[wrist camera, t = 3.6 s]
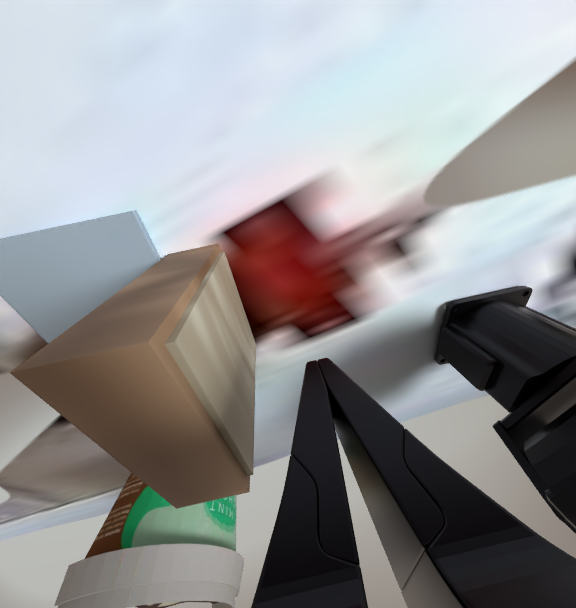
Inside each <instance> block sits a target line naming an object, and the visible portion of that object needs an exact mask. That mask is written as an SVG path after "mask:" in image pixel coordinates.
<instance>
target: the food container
mask: <svg viewBox="0 0 576 608" xmlns="http://www.w3.org/2000/svg"><path fill="white" fill-rule="evenodd" d="M243 566H244V558H243V557H242V556H241V555H240V554H239V553H237V552H236V495H234V496H230V497H225V498H221V499H217V500H212V501H208V502H204V503H199V504H195V505H191V506H186V507H182V508H178V509H176V508H175V507H174V506H172V505H171V504H170V503H169V502H167V501H166V500H165V499H164V498H163V497H161V496H160V495H159V494H158V493H156V492H155V491H154V490H153V489H152V488H150V487H149V486H148V485H147V484H145V483H144V482H143V481H142V480H141V479H139V478H138V477H137V476H136V475H134V474H133V473H131V475H130V476H129V478H128V480H127V482H126V484H125V486H124V487H123V489H122V491H121V493H120V495H119V497H118V498H117V500H116V502H115V504H114V506H113V508H112V509H111V511H110V513H109V515H108V517H107V519H106V521H105V522H104V524H103V526H102V528H101V530H100V532H99V533H98V535H97V537H96V539H95V541H94V543H93V545H92V546H91V548H90V550H89V552H88V554H87V555H86V557H85V559H84V560H81V561H78V562H76V563H74V564H71V565H69V567H68V570H67V572H66V575H65V578H64V581H63V583H62V586H61V589H60V592H59V594H58V597H57V600H56V603H55V606H56V605H59V606H58V608H126V607H133V606H135V607H138V608H165V607H169V606H172V605H176V604H179V603H184V602H211V603H212V608H234V604H235V597H237V596H238V593H239V589H240V583H241V577H242V571H243Z"/></svg>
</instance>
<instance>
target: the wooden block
mask: <svg viewBox="0 0 576 608" xmlns="http://www.w3.org/2000/svg"><path fill="white" fill-rule="evenodd" d="M255 362H256V343H255V340H254V338H253V335H252V332H251V329H250V326H249V323H248V320H247V317H246V314H245V311H244V308H243V305H242V302H241V299H240V296H239V293H238V290H237V287H236V285H235V282H234V279H233V276H232V273H231V270H230V267H229V264H228V261H227V258H226V255H225V252H224V251H222V252H221V249H220V246H219V244H214V245H209V246H205V247H200V248H195V249H191V250H186V251H181V252H177V253H172V254H168V255H167V256H165V257H164V258H163V259H161V260H160V261H159V262H157V263H156V264H155V265H153V266H152V267H151V268H149V269H148V270H146V271H145V272H144V273H142V274H141V275H140V276H138V277H137V278H136V279H134V280H133V281H132V282H130V283H129V284H128V285H126V286H125V287H124V288H122V289H121V290H120V291H118V292H117V293H116V294H114V295H113V296H112V297H110V298H109V299H108V300H106V301H105V302H104V303H102V304H101V305H100V306H98V307H97V308H96V309H94V310H93V311H92V312H90V313H89V314H88V315H86V316H85V317H84V318H82V319H81V320H79V321H78V322H77V323H75V324H74V325H73V326H71V327H70V328H69V329H67V330H66V331H65V332H63V333H62V334H61V335H59V336H58V337H57V338H55V339H54V340H53V341H51V342H50V343H49V344H47V345H46V346H45V347H43V348H42V349H41V350H39V351H38V352H37V353H35V354H34V355H33V356H31V357H30V358H29V359H27V360H26V361H25V362H23V363H22V364H21V365H19V366H18V367H17V368H15V369H14V370H12V371H11V372H10V373H11V374H12V375H13V376H14V377H16V378H17V379H18V380H20V381H21V382H22V383H23V384H24V385H25V386H27V387H28V388H29V389H30V390H32V391H33V392H34V393H35V394H36V395H38V396H39V397H40V398H41V399H43V400H44V401H45V402H46V403H47V404H49V405H50V406H51V407H52V408H54V409H55V410H56V411H57V412H58V413H60V414H61V415H62V416H63V417H65V418H66V419H67V420H68V421H69V422H71V423H72V424H73V425H74V426H76V427H77V428H78V429H79V430H81V431H82V432H83V433H84V434H85V435H87V436H88V437H89V438H90V439H92V440H93V441H94V442H95V443H96V444H98V445H99V446H100V447H101V448H103V449H104V450H105V451H106V452H107V453H109V454H110V455H111V456H112V457H114V458H115V459H116V460H117V461H118V462H120V463H121V464H122V465H123V466H125V467H126V468H127V469H128V470H129V471H131V472H132V473H133V474H134V475H136V476H137V477H138V478H139V479H141V480H142V481H143V482H144V483H145V484H147V485H148V486H149V487H150V488H152V489H153V490H154V491H155V492H156V493H158V494H159V495H160V496H161V497H163V498H164V499H165V500H166V501H167V502H169V503H170V504H171V505H172V506H174V507H175V508H176V509H178V508H182V507H186V506H191V505H195V504H199V503H204V502H208V501H212V500H217V499H221V498H225V497H230V496H234V495H238V494H242V493H247V492H249V487H250V486H249V485H250V475H253V454H254V408H255Z"/></svg>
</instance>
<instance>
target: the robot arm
mask: <svg viewBox="0 0 576 608" xmlns="http://www.w3.org/2000/svg"><path fill="white" fill-rule="evenodd" d="M531 293H532V289H531V288H529V287H527V286H520V287H515V288H511V289H506V290H502V291H497V292H493V293H488V294H484V295H479V296H475V297H470V298H466V299H461V300H457V301H453V302H451V303H449V304H448V305H447V307H446V311H445V315H444V319H443V324H442V328H441V332H440V337H439V341H438V345H437V349H436V354H435V358H434V360H435V361H436V362H437V363H438V364H439V365H442V364H446V363H450V364H451V365H452V366H453V367H454V368H455V369H456V370H457V371H458V372H459V373H461V374H462V375H463V376H464V377H465V378H466V379H467V380H468V381H469V382H470V383H471V384H472V385H473V386H475V387H476V388H477V389H478V390H480V391H486V392H487V393H488V394H489V395H491V396H492V397H493V398H494V399H495V400H496V401H497V402H498V403H499V404H500V405H502V406H503V407H504V408H505V409H506V410H507V411H508V412H511V413H510V414H509V415H507V416H506V417H505V418H504V419H503V420H501V421H497V422H496V423H495V424H494V425H493V428H494V429H495V431H496V432H497V433H498V435H499V436H500V438H501V439H502V440H503V442H504V443H505V445H506V446H507V448H508V449H509V450H510V452H511V453H512V455H513V456H514V458H515V459H516V460H517V462H518V463H519V465H520V466H521V467H522V469H523V470H524V472H525V473H526V475H527V476H528V477H529V479H530V480H531V482H532V483H533V484H534V486H535V487H536V489H537V490H538V491H539V493H540V494H541V496H542V497H543V499H544V500H545V501H546V502H547V504H548V505H549V506H550V508H551V509H552V511H553V512H554V513H555V514H556V516H557V517H558V518H559V519H560V520H561V521H563V522H564V523H565V524H566V525H567V526H568V527H569V528H571V530H572V531H573V532H575V533H576V329H575V328H573V327H570V326H568V325H566V324H564V323H562V322H559V321H557V320H555V319H553V318H550V317H548V316H546V315H544V314H542V313H539V312H537V311H535V310H533V309H530V308H528V307H526V304H527V302H528V300H529V298H530V296H531ZM335 429H336V432H337V434H338V437H339V439H340V441H341V444H342V446H343V449H344V451H345V454H346V456H347V459H348V461H349V464H350V466H351V469H352V471H353V474H354V476H355V478H356V481H357V483H358V486H359V488H360V491H361V493H362V496H363V498H364V501H365V503H366V505H367V508H368V511H369V513H370V515H371V518H372V520H373V523H374V525H375V528H376V530H377V533H378V535H379V538H380V540H381V542H382V545H383V548H384V550H385V552H386V555H387V557H388V560H389V562H390V565H391V567H392V570H393V572H394V575H395V577H396V580H397V582H398V585H399V587H400V589H401V590H402V595H403V597H404V600H405V602H406V604H407V607H408V608H576V559H575V558H574V557H572V556H570V555H569V554H567V553H565V552H564V551H562V550H561V549H559V548H558V547H556V546H555V545H553V544H551V543H550V542H549V541H547V540H546V539H544V538H542V537H541V536H540V535H538V534H537V533H536V532H534V531H533V530H532V529H530V528H529V527H528V526H526V525H525V524H524V523H522V522H521V521H520V520H518V519H517V518H516V517H515V516H513V515H512V514H511V513H509V512H508V511H507V510H506V509H504V508H503V507H502V506H500V505H499V504H498V503H496V502H495V501H494V500H492V499H491V498H490V497H489V496H487V495H486V494H485V493H484V492H482V491H481V490H480V489H478V488H477V487H476V486H474V485H473V484H472V483H471V482H469V481H468V480H467V479H465V478H464V477H463V476H461V475H460V474H459V473H458V472H456V471H455V470H454V469H453V468H451V467H450V466H449V465H448V464H446V463H445V462H444V461H443V460H441V459H440V458H439V457H438V456H436V455H435V454H434V453H433V452H432V451H431V450H429V449H428V448H427V447H426V446H425V445H424V444H423V443H421V442H420V441H419V440H418V439H417V438H416V437H415V436H414V435H412V434H411V433H410V432H409V431H408V430H407V429H404V427H403V426H402V425H401V424H400V423H399V422H398V421H397V420H396V419H395V418H394V417H392V416H391V415H390V414H389V413H388V412H387V411H386V410H385V409H384V408H383V407H381V406H380V405H379V404H378V403H377V402H376V401H375V400H374V399H373V398H372V397H370V396H369V395H368V394H367V393H366V392H365V391H364V390H363V389H362V388H361V387H359V386H358V385H357V384H356V383H355V382H354V381H353V380H352V379H351V378H350V377H348V376H347V375H346V374H345V373H344V372H343V371H342V370H341V369H340V368H339V367H337V366H336V365H335V364H334V363H333V362H332V361H331V360H330V359H328V358H324V359H319V360H318V361H316V360H315V361H310V362H307V364H306V368H305V374H304V380H303V386H302V392H301V397H300V403H299V409H298V415H297V420H296V426H295V432H294V438H293V444H292V449H291V456H290V460H289V466H288V471H287V477H286V482H285V486H284V491H283V495H282V499H281V504H280V507H279V511H278V515H277V519H276V522H275V526H274V530H273V533H272V537H271V540H270V544H269V547H268V551H267V554H266V558H265V562H264V565H263V569H262V572H261V576H260V579H259V583H258V586H257V590H256V593H255V597H254V600H253V604H252V606H251V608H368V605H367V600H366V595H365V589H364V584H363V580H362V573H361V568H360V566H359V557H358V552H357V546H356V541H355V535H354V530H353V524H352V519H351V513H350V509H349V503H348V497H347V492H346V486H345V481H344V476H343V470H342V465H341V459H340V454H339V448H338V443H337V437H336V432H335Z"/></svg>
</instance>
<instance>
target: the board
mask: <svg viewBox="0 0 576 608" xmlns="http://www.w3.org/2000/svg"><path fill="white" fill-rule="evenodd" d="M160 260H161V259H160V257H159V255H158V253H157V251H156V249H155V247H154V245H153V243H152V241H151V239H150V237H149V235H148V233H147V231H146V229H145V227H144V225H143V223H142V221H141V219H140V217H139V215H138V213H137V211H136V210H135V211H130V212H125V213H121V214H116V215H111V216H107V217H102V218H97V219H92V220H88V221H83V222H78V223H73V224H69V225H64V226H59V227H54V228H50V229H45V230H40V231H35V232H31V233H26V234H21V235H17V236H12V237H7V238H2V239H0V296H1V297H2V298H3V299H4V300H5V301H6V302H7V303H8V304H9V305H10V306H11V307H12V308H13V309H14V310H15V311H16V312H17V313H18V314H19V315H20V316H21V317H22V318H23V319H24V320H25V321H26V322H27V323H28V324H29V325H30V326H31V327H32V328H33V329H34V330H35V331H36V332H37V333H38V334H39V335H40V336H41V337H42V338H43V339H44V340H45V341H46V342H47V343H48V344H49V343H50V342H51V341H53V340H54V339H55V338H57V337H58V336H59V335H61V334H62V333H63V332H65V331H66V330H67V329H69V328H70V327H71V326H73V325H74V324H75V323H77V322H78V321H79V320H81V319H82V318H84V317H85V316H86V315H88V314H89V313H90V312H92V311H93V310H94V309H96V308H97V307H98V306H100V305H101V304H102V303H104V302H105V301H106V300H108V299H109V298H110V297H112V296H113V295H114V294H116V293H117V292H118V291H120V290H121V289H122V288H124V287H125V286H126V285H128V284H129V283H130V282H132V281H133V280H134V279H136V278H137V277H138V276H140V275H141V274H142V273H144V272H145V271H146V270H148V269H149V268H151V267H152V266H153V265H155V264H156V263H157V262H159V261H160Z"/></svg>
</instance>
